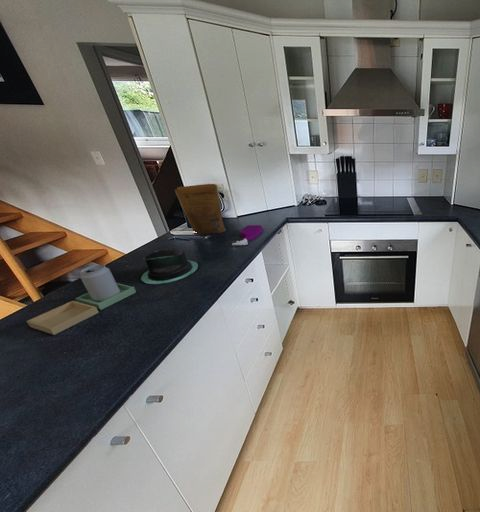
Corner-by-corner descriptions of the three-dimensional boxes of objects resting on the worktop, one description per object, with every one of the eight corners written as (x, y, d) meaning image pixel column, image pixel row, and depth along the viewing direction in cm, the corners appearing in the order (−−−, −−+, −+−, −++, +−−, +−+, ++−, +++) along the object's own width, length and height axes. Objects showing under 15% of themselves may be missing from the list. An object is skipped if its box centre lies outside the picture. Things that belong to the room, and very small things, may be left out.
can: (87, 301, 97) (71, 272, 91) (111, 289, 103) (96, 262, 98) (103, 304, 95) (87, 275, 90) (126, 292, 102) (112, 264, 96)
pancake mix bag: (227, 233, 157) (215, 184, 145) (189, 237, 151) (173, 186, 138) (229, 229, 163) (217, 182, 150) (191, 233, 156) (176, 184, 144)
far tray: (78, 303, 96) (75, 298, 95) (115, 287, 106) (112, 281, 105) (100, 310, 93) (97, 304, 92) (136, 292, 103) (133, 286, 102)
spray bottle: (264, 229, 164) (251, 246, 142) (245, 229, 163) (229, 247, 141) (263, 224, 163) (250, 241, 141) (244, 225, 162) (228, 242, 140)
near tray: (30, 327, 85) (26, 321, 84) (76, 306, 95) (73, 300, 94) (54, 335, 82) (50, 328, 81) (99, 312, 92) (95, 306, 91)
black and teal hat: (138, 288, 104) (136, 269, 117) (194, 293, 117) (187, 275, 131) (149, 252, 102) (147, 237, 116) (205, 261, 116) (197, 247, 129)
